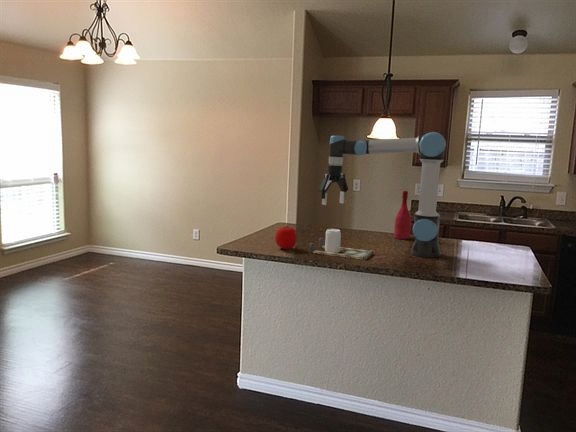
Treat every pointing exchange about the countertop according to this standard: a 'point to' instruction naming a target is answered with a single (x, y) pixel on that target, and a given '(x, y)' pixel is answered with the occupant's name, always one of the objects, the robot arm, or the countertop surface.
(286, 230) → the tomato
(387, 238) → the countertop surface
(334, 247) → the beverage can
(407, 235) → the wine bottle
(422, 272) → the countertop surface
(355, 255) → the bay
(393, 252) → the countertop surface
